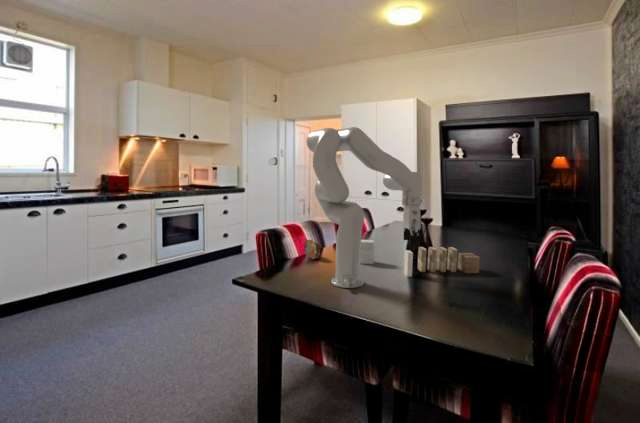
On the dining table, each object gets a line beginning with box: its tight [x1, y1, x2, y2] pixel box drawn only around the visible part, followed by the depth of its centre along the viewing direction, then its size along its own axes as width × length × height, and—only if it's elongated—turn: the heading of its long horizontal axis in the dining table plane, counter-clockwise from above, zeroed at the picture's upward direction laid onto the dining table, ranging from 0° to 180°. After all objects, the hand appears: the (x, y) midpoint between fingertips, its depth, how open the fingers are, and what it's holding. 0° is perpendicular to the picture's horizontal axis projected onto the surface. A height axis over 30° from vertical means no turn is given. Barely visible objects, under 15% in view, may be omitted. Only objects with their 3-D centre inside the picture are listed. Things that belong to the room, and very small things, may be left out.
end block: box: [457, 252, 481, 274], centre depth 161 cm, size 8×6×7 cm
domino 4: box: [436, 246, 448, 273], centre depth 161 cm, size 2×5×10 cm, turn 2°
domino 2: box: [417, 246, 428, 273], centre depth 160 cm, size 2×5×10 cm, turn 2°
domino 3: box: [426, 246, 438, 273], centre depth 160 cm, size 2×5×10 cm, turn 2°
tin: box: [303, 239, 322, 260], centre depth 181 cm, size 15×3×8 cm, turn 25°
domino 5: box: [446, 246, 458, 273], centre depth 161 cm, size 2×5×10 cm, turn 2°
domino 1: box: [403, 249, 414, 278], centre depth 153 cm, size 2×5×10 cm, turn 2°
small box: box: [360, 239, 375, 265], centre depth 172 cm, size 8×6×10 cm
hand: (410, 242), depth 152 cm, fingers open, 9 cm apart
